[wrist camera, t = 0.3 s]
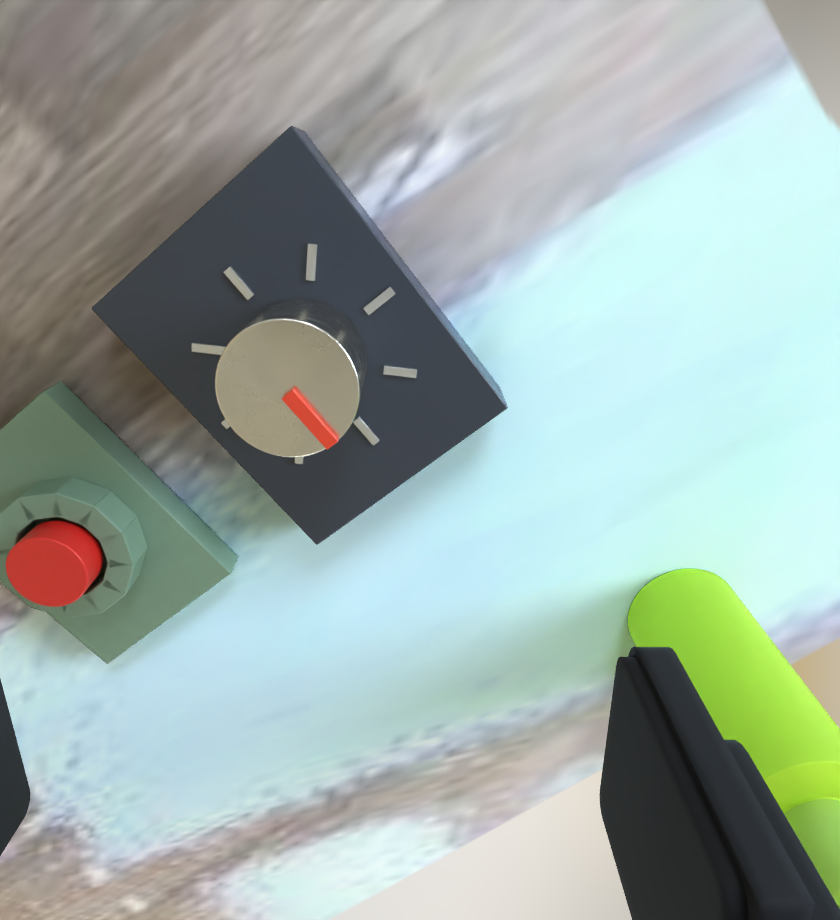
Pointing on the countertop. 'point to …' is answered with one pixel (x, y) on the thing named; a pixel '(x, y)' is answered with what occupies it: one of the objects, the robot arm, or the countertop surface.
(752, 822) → the robot arm
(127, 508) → the button block
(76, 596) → the button
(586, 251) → the countertop surface
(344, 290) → the dial panel
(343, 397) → the dial
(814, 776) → the soap dispenser
